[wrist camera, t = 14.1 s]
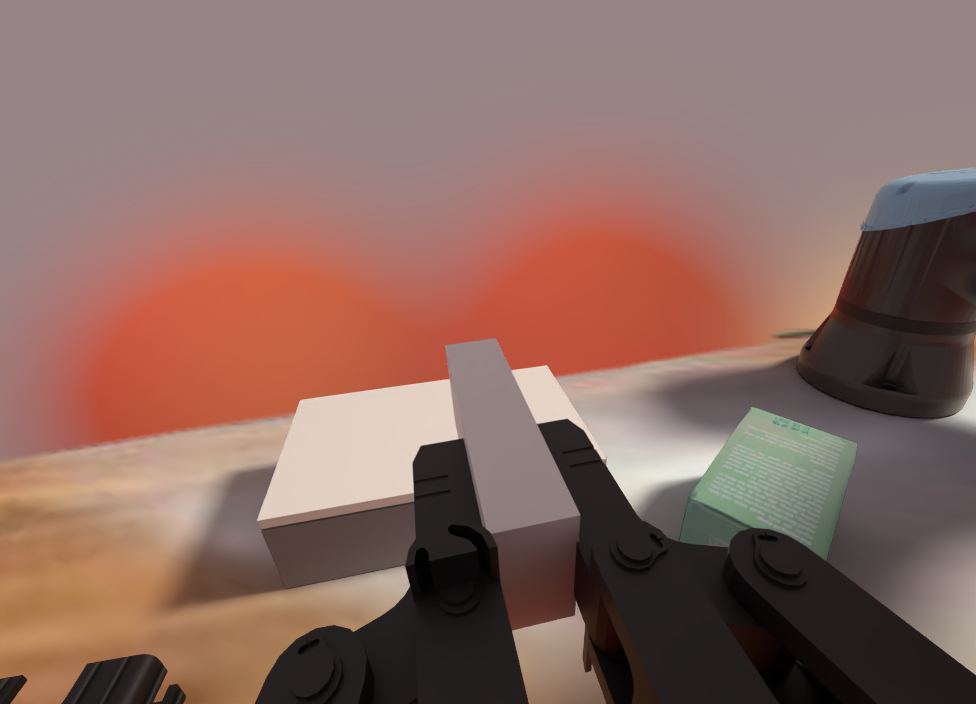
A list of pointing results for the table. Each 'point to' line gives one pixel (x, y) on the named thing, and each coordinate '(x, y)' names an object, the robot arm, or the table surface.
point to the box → (772, 484)
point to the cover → (378, 445)
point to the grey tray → (342, 544)
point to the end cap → (111, 683)
